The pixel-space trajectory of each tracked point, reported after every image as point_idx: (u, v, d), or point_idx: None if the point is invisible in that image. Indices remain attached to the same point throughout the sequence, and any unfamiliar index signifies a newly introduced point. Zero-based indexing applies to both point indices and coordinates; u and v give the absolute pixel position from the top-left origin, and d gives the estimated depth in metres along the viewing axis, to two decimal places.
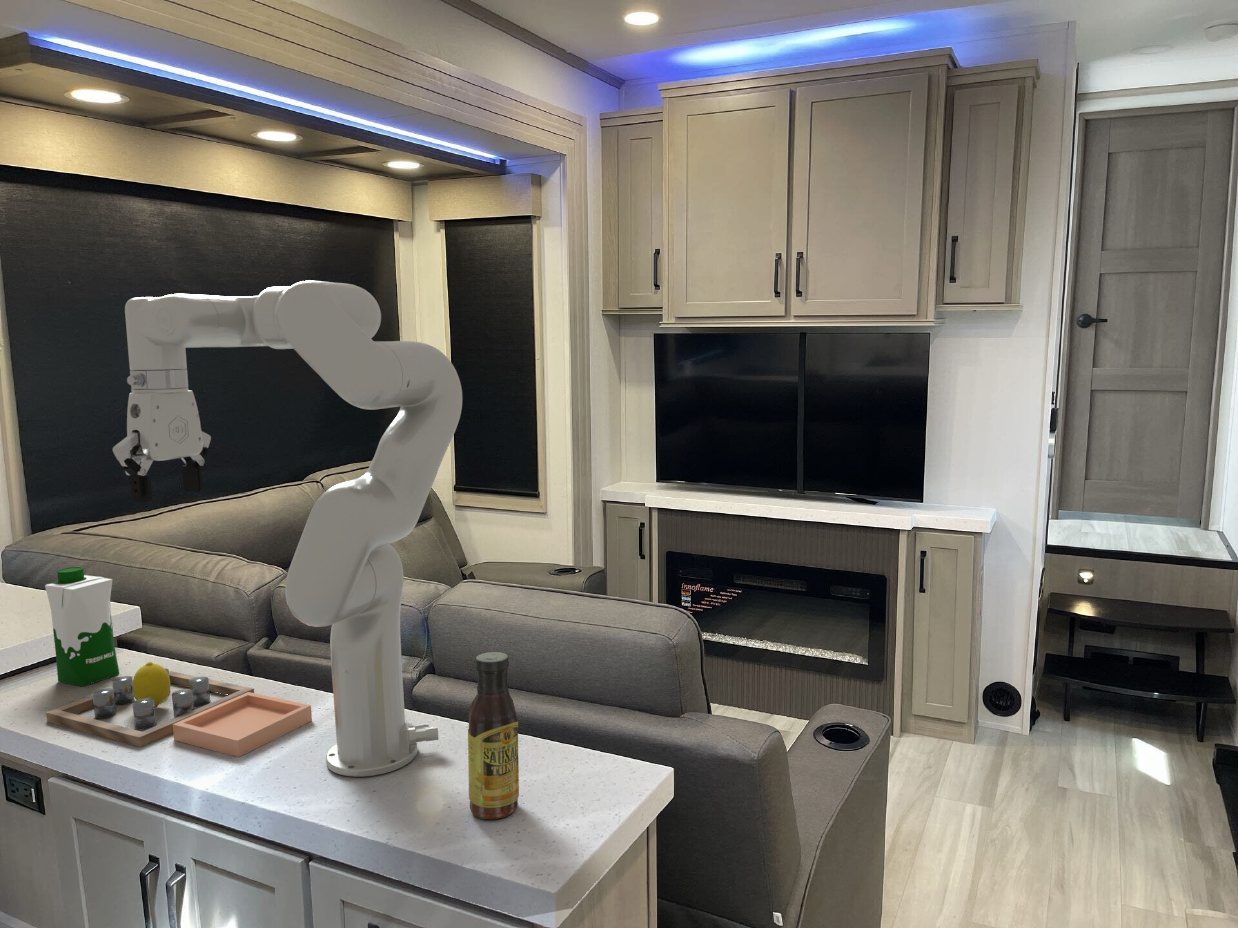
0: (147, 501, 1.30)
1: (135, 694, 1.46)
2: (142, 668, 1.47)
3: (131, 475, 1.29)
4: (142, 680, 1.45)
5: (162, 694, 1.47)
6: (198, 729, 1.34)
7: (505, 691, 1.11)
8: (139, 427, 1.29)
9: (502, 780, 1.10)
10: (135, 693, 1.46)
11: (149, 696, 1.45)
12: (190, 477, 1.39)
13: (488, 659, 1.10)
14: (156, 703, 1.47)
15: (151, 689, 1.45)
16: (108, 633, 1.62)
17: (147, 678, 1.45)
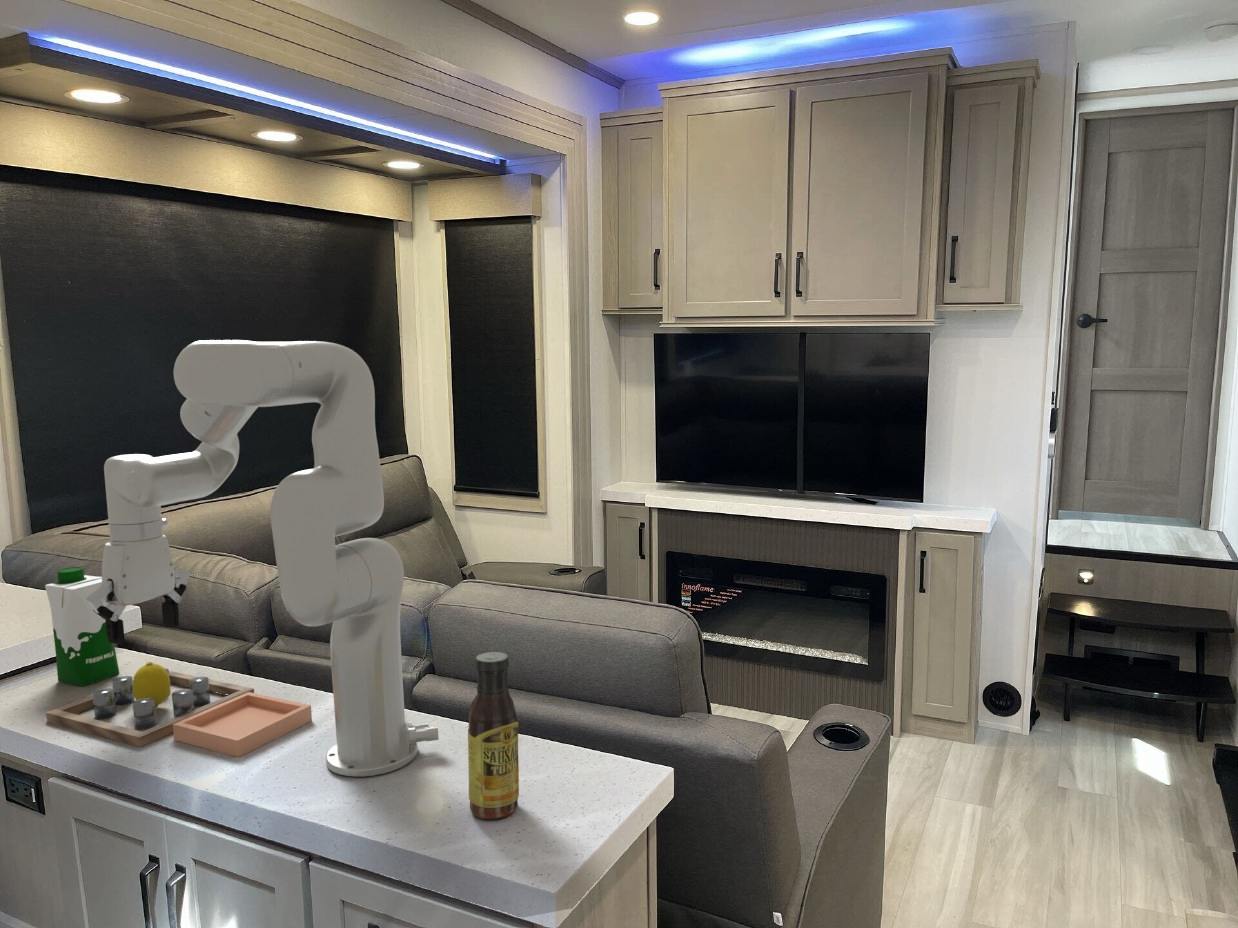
0: None
1: (135, 694, 1.46)
2: (142, 668, 1.47)
3: None
4: (142, 680, 1.45)
5: (162, 694, 1.47)
6: (198, 729, 1.34)
7: (505, 691, 1.11)
8: None
9: (502, 780, 1.10)
10: (135, 693, 1.46)
11: (149, 696, 1.45)
12: None
13: (488, 659, 1.10)
14: (156, 703, 1.47)
15: (151, 689, 1.45)
16: None
17: (147, 678, 1.45)
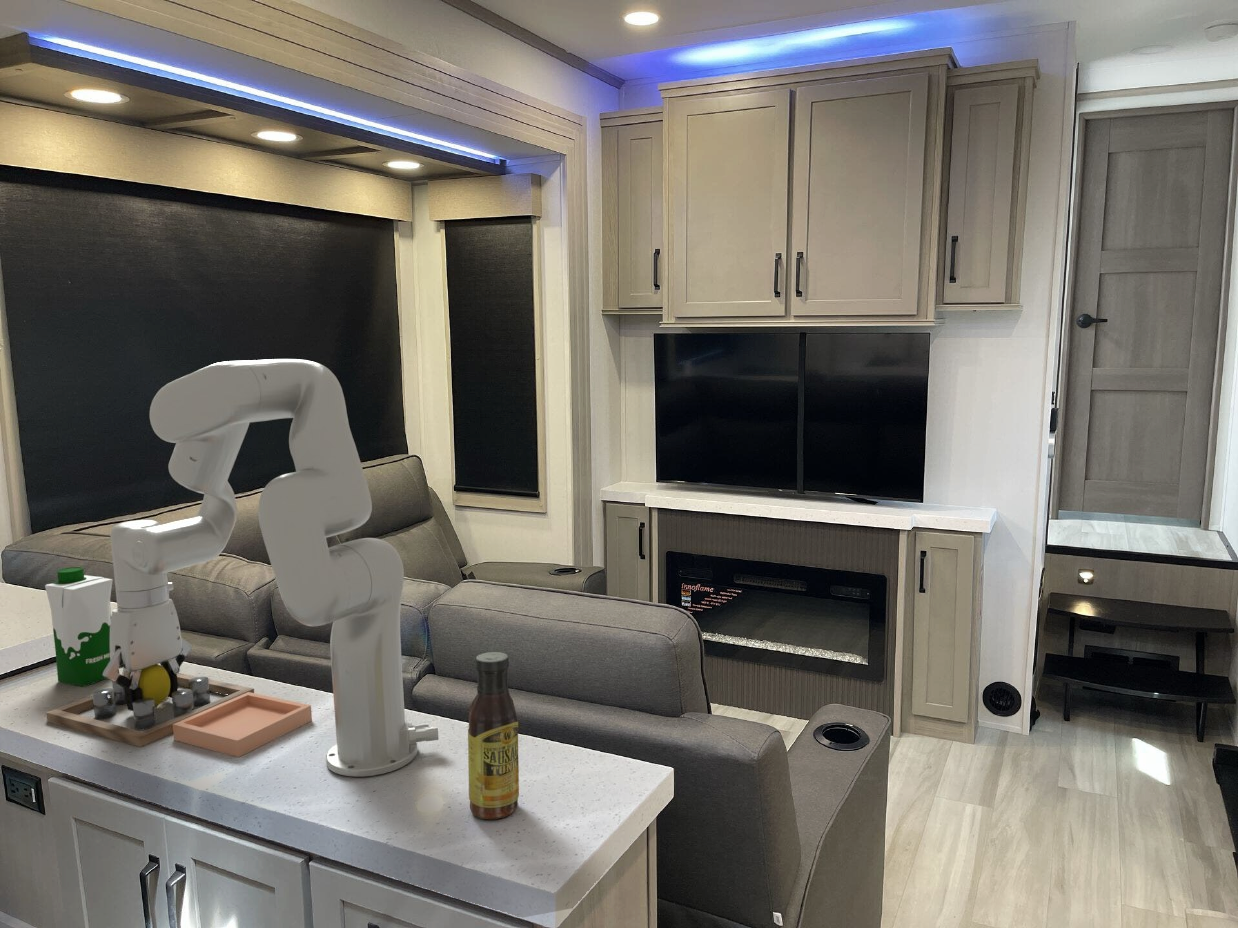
0: None
1: None
2: None
3: None
4: (142, 680, 1.45)
5: (162, 694, 1.47)
6: (198, 729, 1.34)
7: (505, 691, 1.11)
8: None
9: (502, 780, 1.10)
10: None
11: (149, 696, 1.45)
12: None
13: (488, 659, 1.10)
14: (156, 703, 1.47)
15: (151, 689, 1.45)
16: (108, 633, 1.62)
17: (147, 678, 1.45)
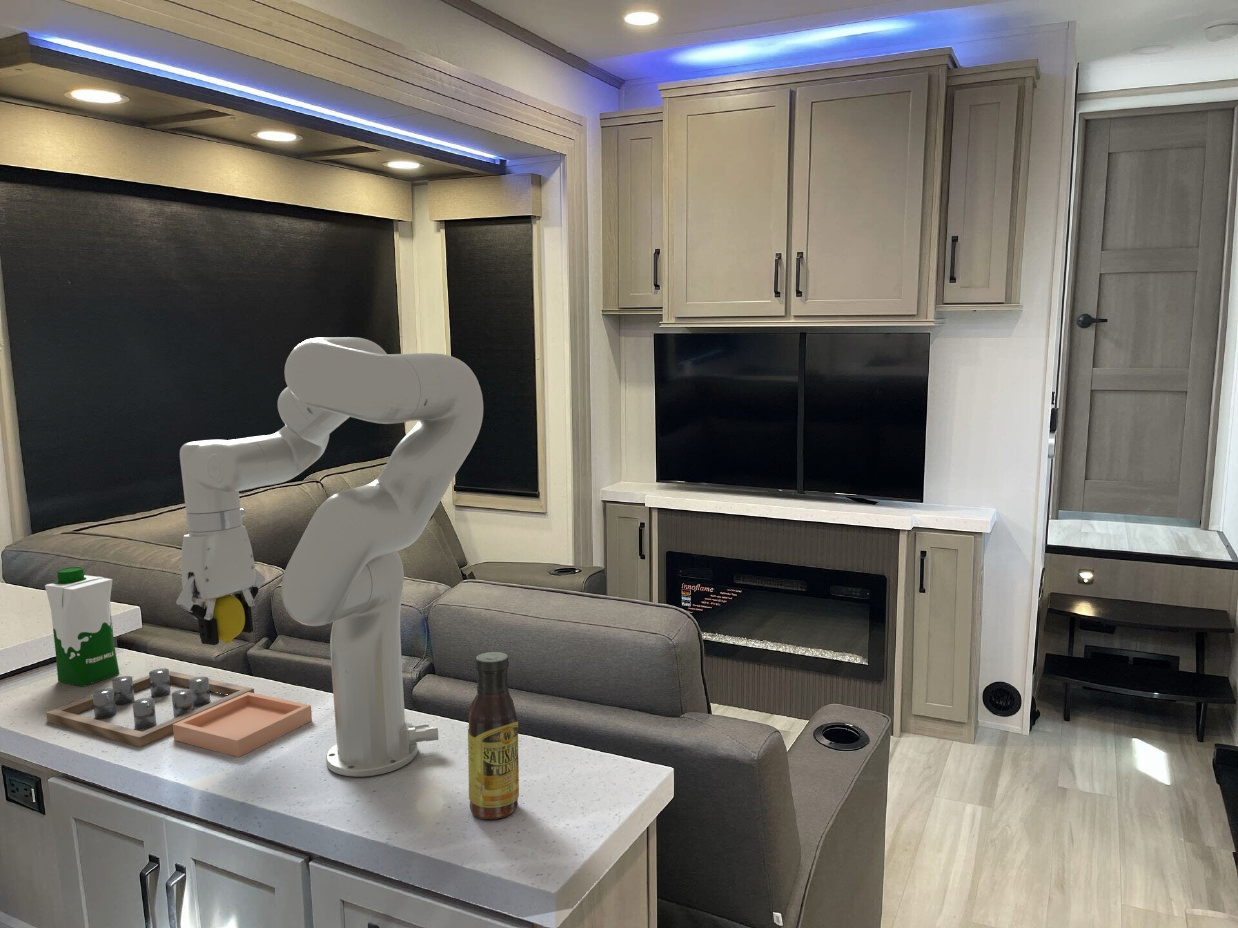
0: None
1: None
2: None
3: None
4: (217, 610, 1.35)
5: (238, 626, 1.37)
6: (198, 729, 1.34)
7: (505, 691, 1.11)
8: None
9: (502, 780, 1.10)
10: None
11: (224, 627, 1.35)
12: None
13: (488, 659, 1.10)
14: (231, 636, 1.37)
15: (226, 620, 1.35)
16: (108, 633, 1.62)
17: (221, 608, 1.35)
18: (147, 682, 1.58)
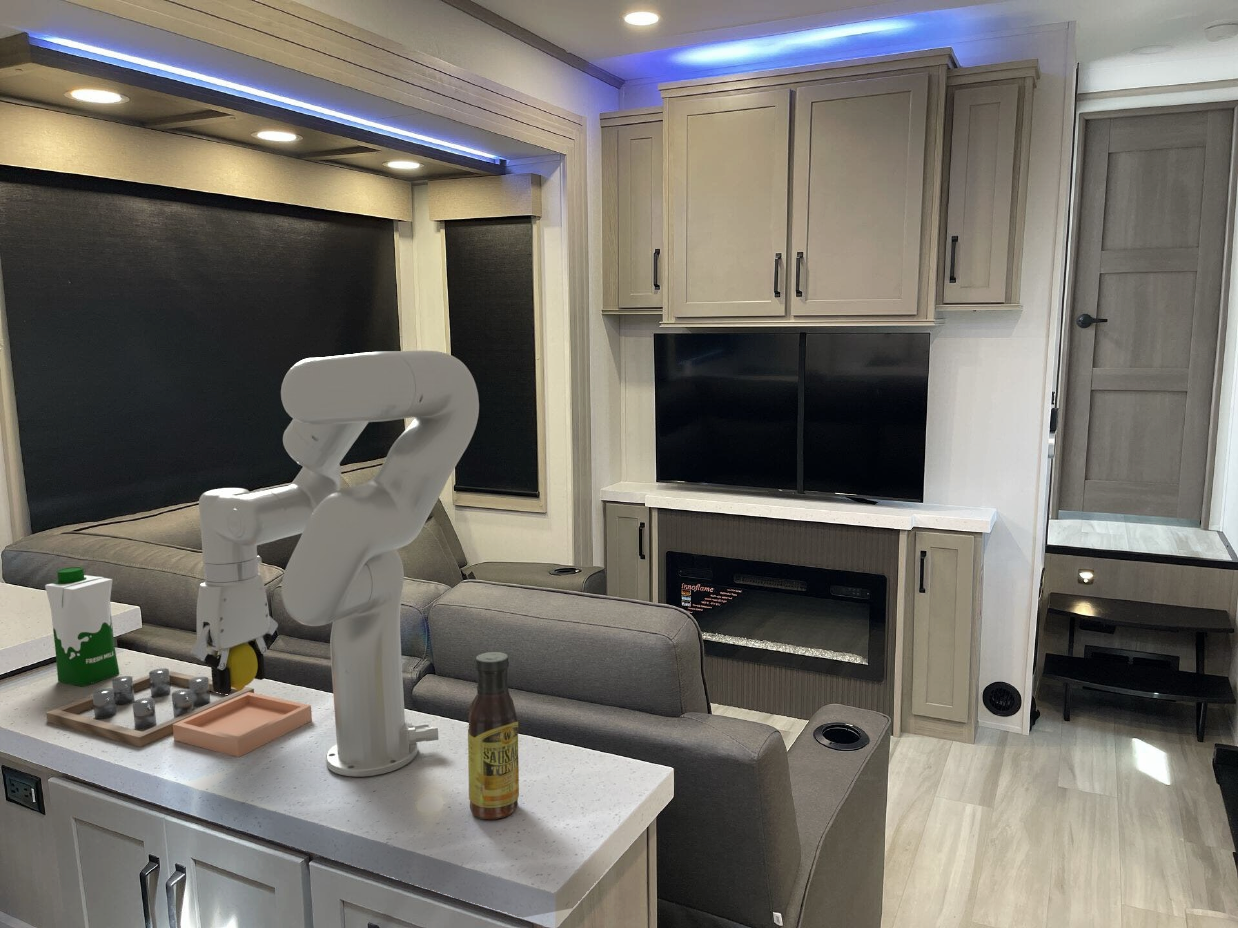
0: None
1: None
2: None
3: None
4: (230, 659, 1.35)
5: (250, 675, 1.37)
6: (198, 729, 1.34)
7: (505, 691, 1.11)
8: None
9: (502, 780, 1.10)
10: None
11: (237, 676, 1.35)
12: None
13: (488, 659, 1.10)
14: (244, 684, 1.37)
15: (239, 669, 1.35)
16: (108, 633, 1.62)
17: (235, 657, 1.35)
18: (147, 682, 1.58)
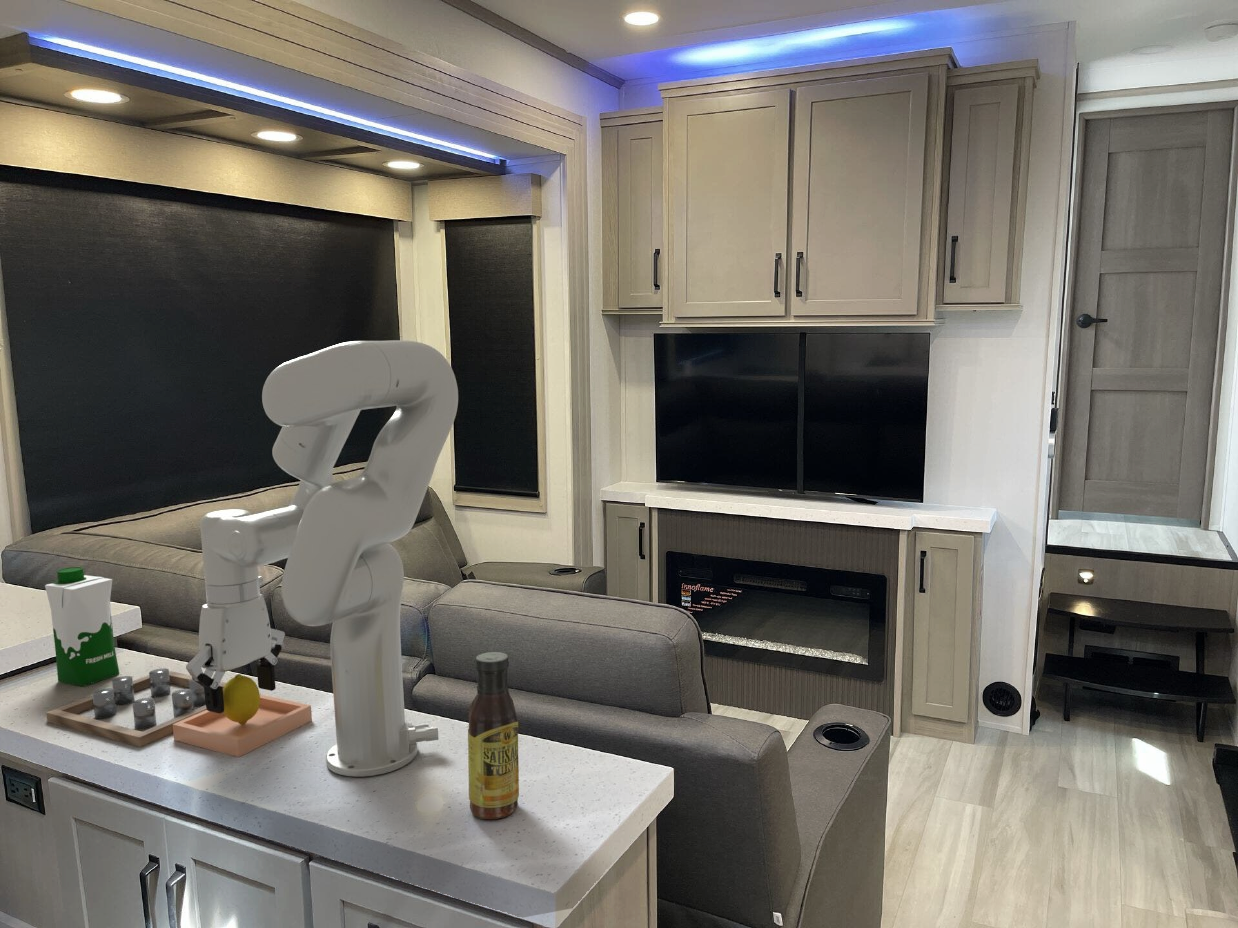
0: None
1: (224, 709, 1.36)
2: (231, 681, 1.37)
3: None
4: (233, 694, 1.36)
5: (253, 708, 1.37)
6: (198, 729, 1.34)
7: (505, 691, 1.11)
8: None
9: (502, 780, 1.10)
10: (225, 708, 1.36)
11: (240, 711, 1.36)
12: None
13: (488, 659, 1.10)
14: (246, 718, 1.37)
15: (241, 703, 1.36)
16: (108, 633, 1.62)
17: (237, 691, 1.36)
18: (147, 682, 1.58)
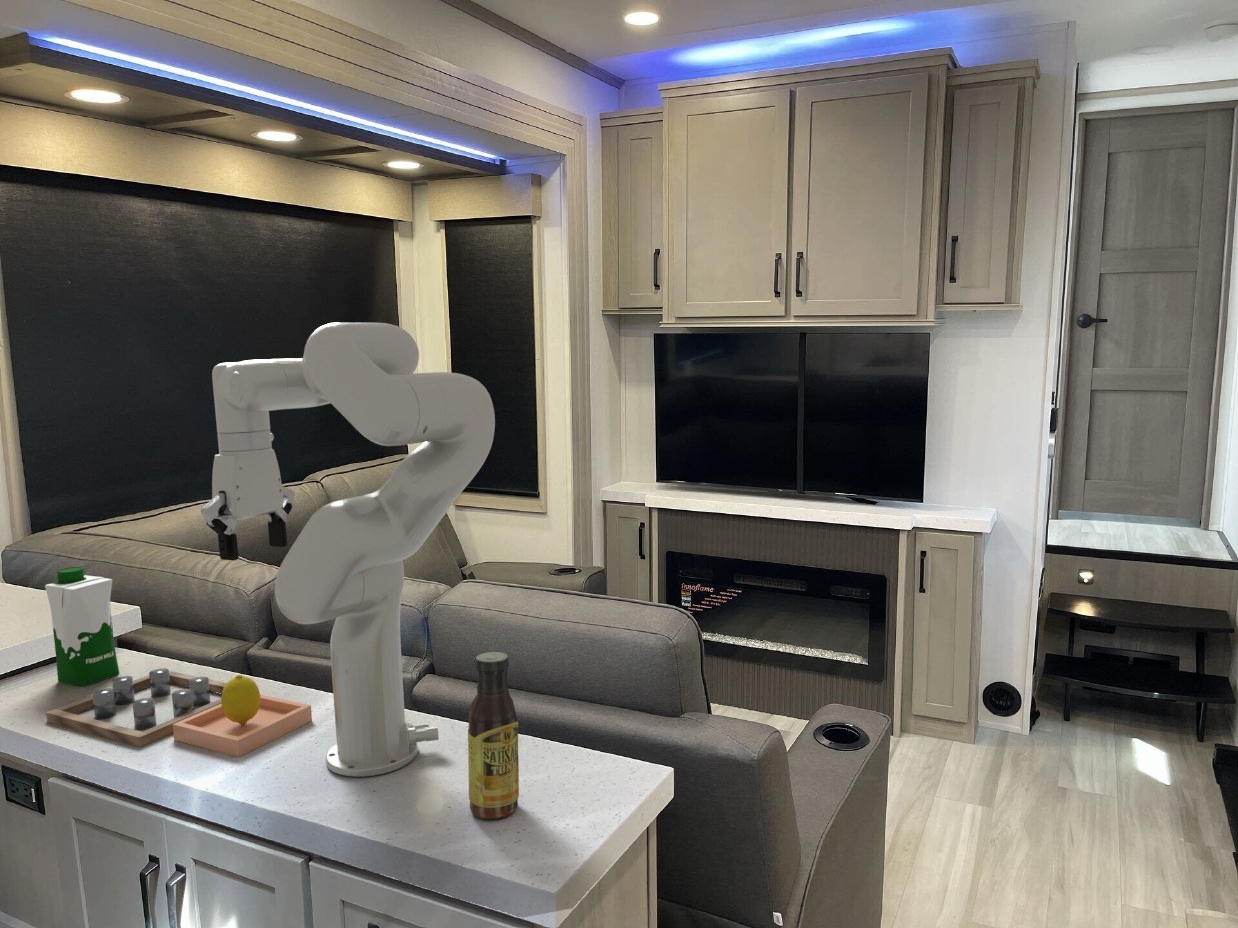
0: None
1: (225, 709, 1.36)
2: (232, 681, 1.37)
3: None
4: (233, 694, 1.35)
5: (253, 709, 1.37)
6: (198, 729, 1.34)
7: (505, 691, 1.11)
8: None
9: (502, 780, 1.10)
10: (225, 708, 1.36)
11: (240, 711, 1.36)
12: None
13: (488, 659, 1.10)
14: (247, 719, 1.37)
15: (242, 704, 1.36)
16: (108, 633, 1.62)
17: (237, 692, 1.36)
18: (147, 682, 1.58)
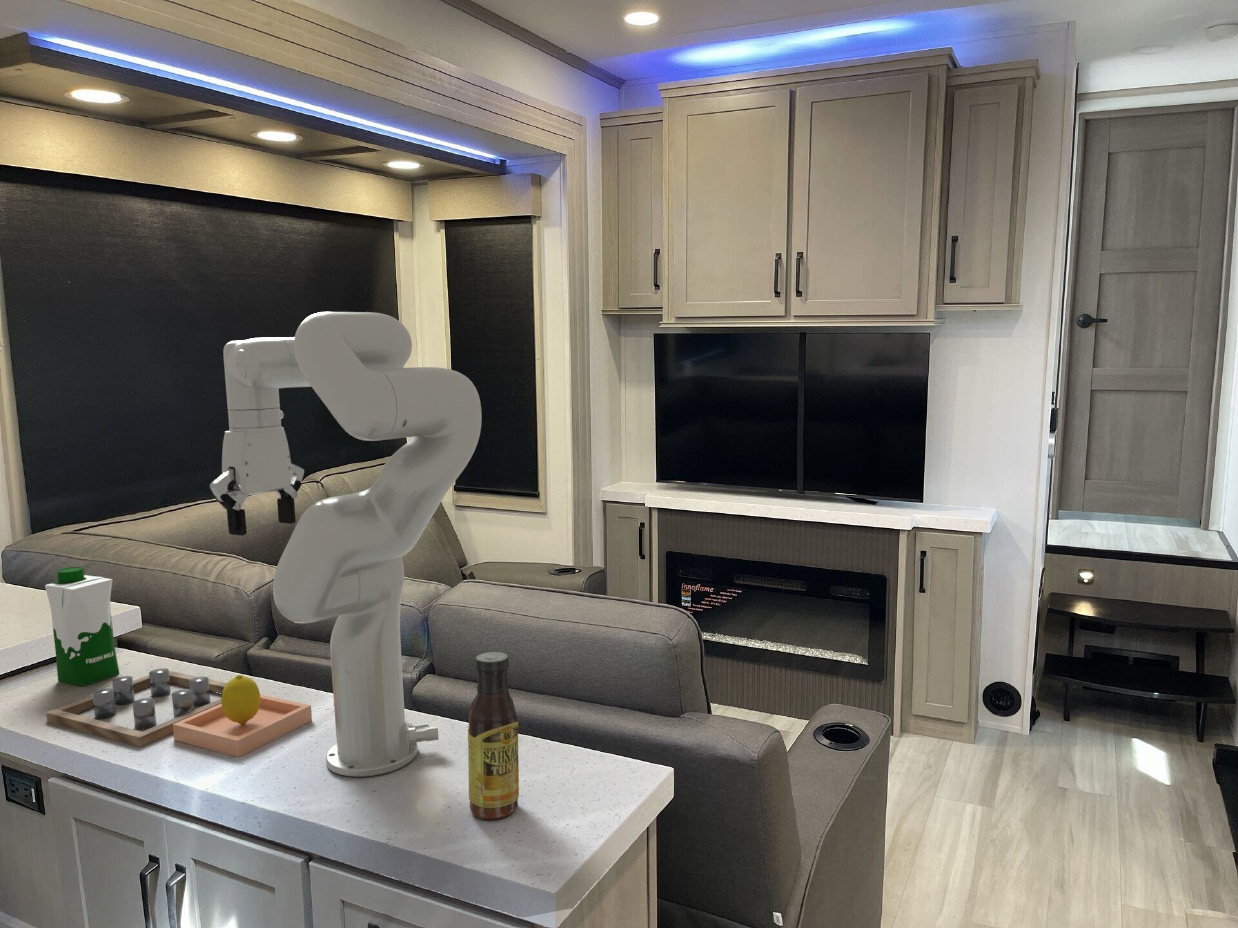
0: None
1: (225, 709, 1.36)
2: (232, 681, 1.37)
3: None
4: (233, 694, 1.35)
5: (253, 709, 1.37)
6: (198, 729, 1.34)
7: (505, 691, 1.11)
8: None
9: (502, 780, 1.10)
10: (225, 708, 1.36)
11: (240, 711, 1.36)
12: None
13: (488, 659, 1.10)
14: (247, 719, 1.37)
15: (242, 704, 1.36)
16: (108, 633, 1.62)
17: (238, 692, 1.36)
18: (147, 682, 1.58)
